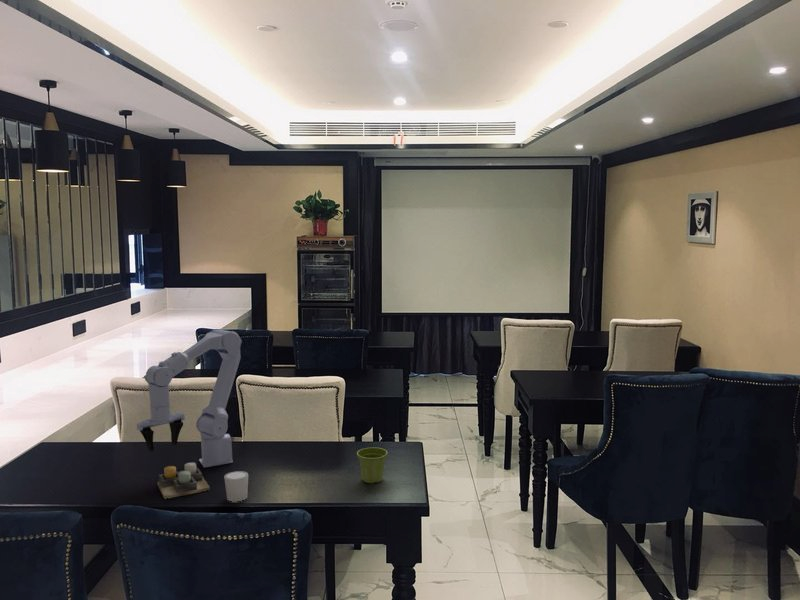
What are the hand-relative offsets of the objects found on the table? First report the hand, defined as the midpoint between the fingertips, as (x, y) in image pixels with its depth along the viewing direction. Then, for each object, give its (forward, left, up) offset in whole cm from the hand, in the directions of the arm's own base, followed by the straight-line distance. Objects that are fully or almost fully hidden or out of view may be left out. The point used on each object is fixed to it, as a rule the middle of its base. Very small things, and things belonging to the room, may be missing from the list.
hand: (162, 447), depth 214 cm
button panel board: (-4, +11, -10) cm, 15 cm away
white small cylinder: (-7, +8, -7) cm, 12 cm away
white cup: (-16, +27, -10) cm, 33 cm away
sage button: (-4, +14, -7) cm, 16 cm away
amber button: (-1, +8, -7) cm, 11 cm away
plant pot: (-56, +34, -10) cm, 66 cm away
